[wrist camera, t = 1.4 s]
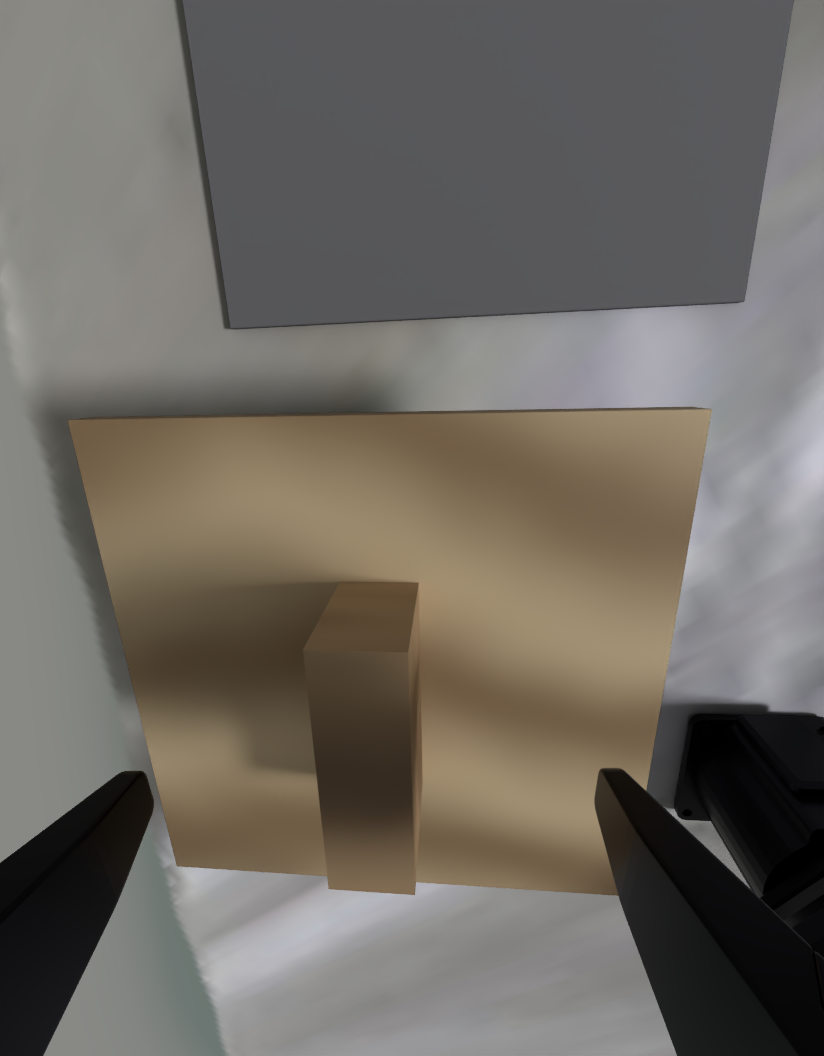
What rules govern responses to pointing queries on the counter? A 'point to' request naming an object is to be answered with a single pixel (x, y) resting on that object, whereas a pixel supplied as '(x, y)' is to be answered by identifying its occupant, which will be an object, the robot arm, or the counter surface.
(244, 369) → the counter surface
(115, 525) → the oak lid
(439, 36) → the mat
